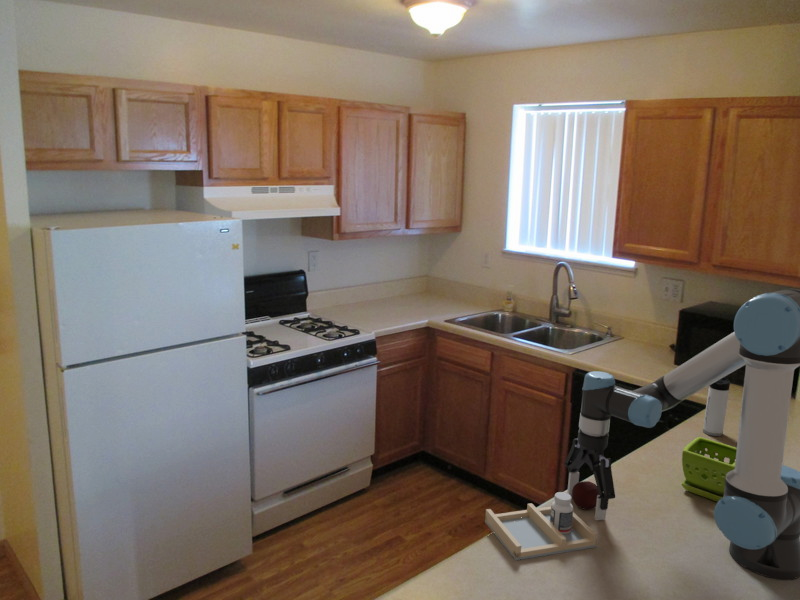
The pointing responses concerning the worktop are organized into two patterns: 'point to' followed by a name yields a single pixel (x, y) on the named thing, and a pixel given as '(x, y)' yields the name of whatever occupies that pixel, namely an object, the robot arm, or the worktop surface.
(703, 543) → the worktop surface
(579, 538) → the open tray
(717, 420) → the travel mug
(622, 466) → the worktop surface
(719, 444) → the flower pot
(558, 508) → the pill bottle
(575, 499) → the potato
